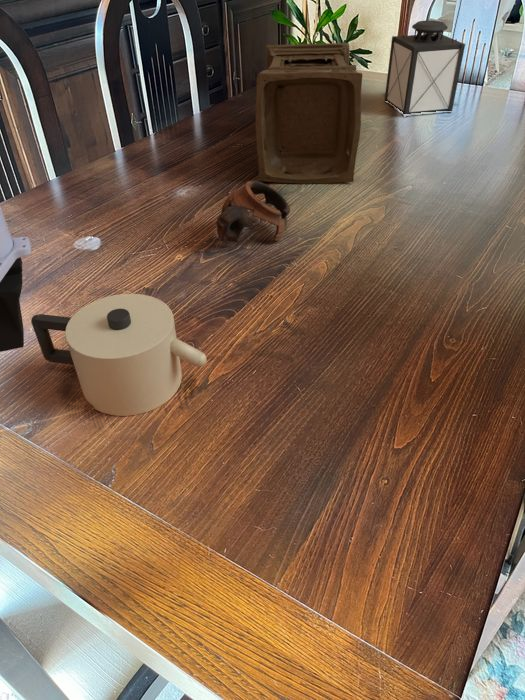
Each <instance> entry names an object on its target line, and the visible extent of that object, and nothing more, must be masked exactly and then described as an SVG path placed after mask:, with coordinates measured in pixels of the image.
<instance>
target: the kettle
mask: <svg viewBox="0 0 525 700" xmlns="http://www.w3.org/2000/svg"><path fill="white" fill-rule="evenodd" d="M174 317H175V316H174V313H173V312H172V310H171V308H170V306H169V305H168V304H166V303H165V302H164V301H162V300H161V299H160V298H159V299H158V298H156V297H154V296H150V295H147V294H142V293H121V294H119V293H118V294H114V295H109V296H105V297H102V298H99V299H96V300H94V301H92V302H90V303H88V304H86V305H85V306H82V307H81V308H80V309H78V310H77V311H76V312H75V313H74V314H73V315H72V316H71V317H70V316H61V315H52V314H43V313H38V314H34V315H33V316H32V317H31V320H30V323H31V325H32V328H33V331H34V333H35V334H34V335H35V336H36V340H37V342H38V345H39V348H40V351H41V353H42V356H43V359H44V360H45V361H47V362H49V363H53V364H54V363H55V364H61V365H62V364H63V365H72V366H74V369H75V372H76V375H77V378H78V381H79V385H80V389H81V391H82V394H83V397H84V399H85V400H86V401H87V402H88V403H89V404H90V405H91V406H92V408H93V409H95V410H96V411H98V412H100V413H103V414H106V415H110V416H116V417H129V416H130V417H131V416H136V415H141V414H145V413H148V412H151V411H153V410H156V409H158V408H159V407H161V406H162V405H164V404H166V403H167V402H168V401H170V400H171V398H173V397H174V395H175V394H176V393H177V392H178V390H179V388H180V386H181V383H182V379H183V371H182V365H181V360H183V361H185V362H188V364H191V365H193V366H194V367H197V368H201V367H203V366H205V364H207V361H208V359H207V355H206V354H205V353H204V352H203V351H201V350H199V349H197V348H195V347H194V346H192V345H190V344H188V343H186V342H184V341H183V340H181V339H179V338H177V332H176V325H175V318H174ZM51 330H52V331H60V332H65V333H64V336H65V340H66V344H67V348H68V349H61V348H55V346H54V343H53V340H52V335H51V333H50V331H51Z"/></svg>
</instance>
